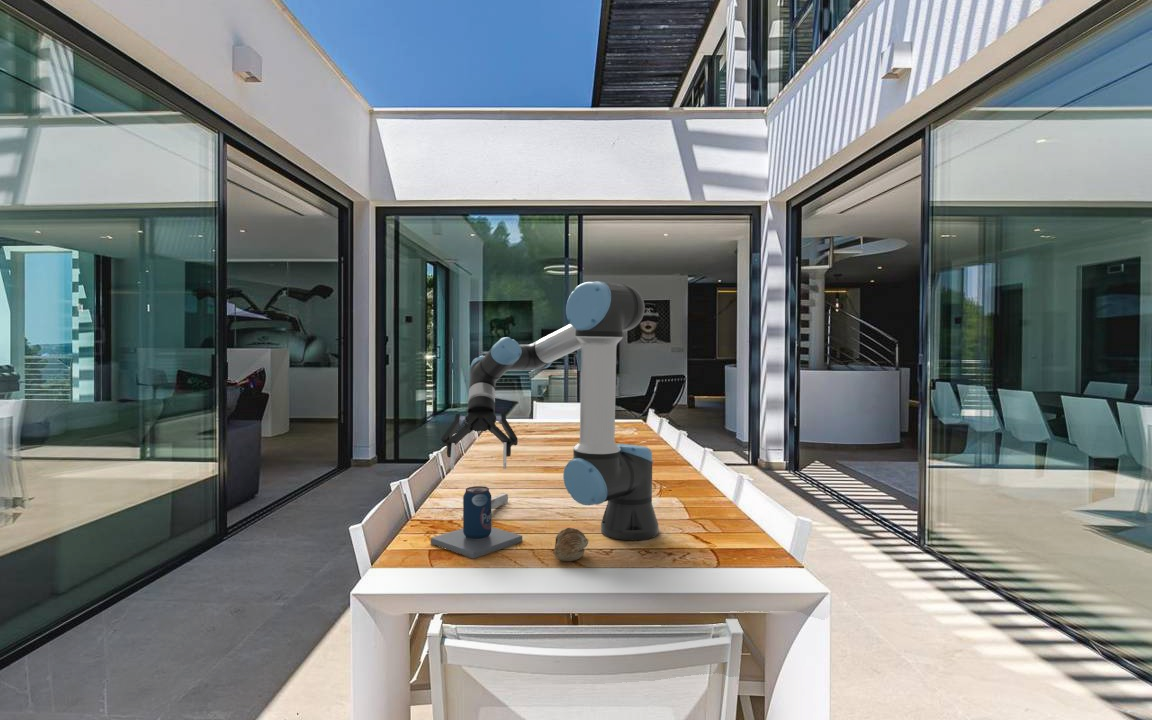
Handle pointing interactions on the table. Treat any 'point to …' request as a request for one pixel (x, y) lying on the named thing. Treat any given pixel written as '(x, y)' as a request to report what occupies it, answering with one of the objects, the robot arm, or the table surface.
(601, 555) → the table surface
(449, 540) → the slate board
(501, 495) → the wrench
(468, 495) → the soda can
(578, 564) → the table surface
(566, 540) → the seashell
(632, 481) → the robot arm
